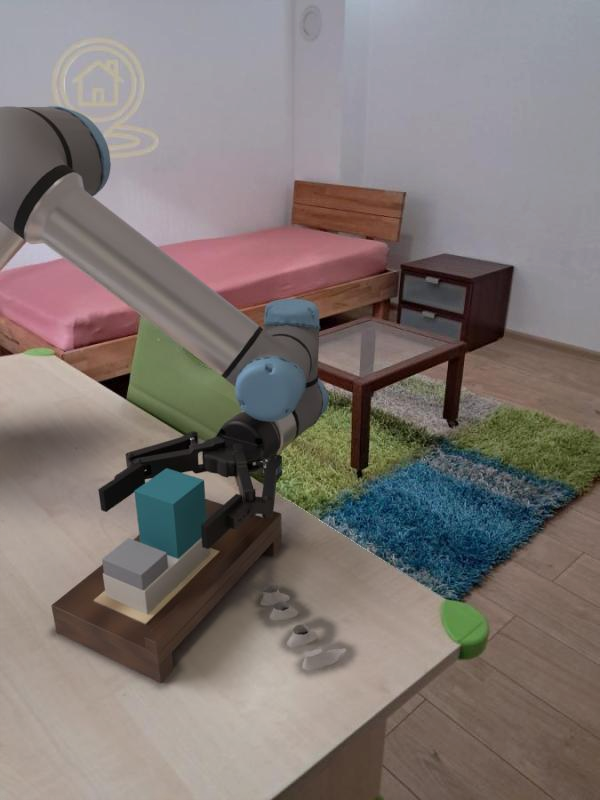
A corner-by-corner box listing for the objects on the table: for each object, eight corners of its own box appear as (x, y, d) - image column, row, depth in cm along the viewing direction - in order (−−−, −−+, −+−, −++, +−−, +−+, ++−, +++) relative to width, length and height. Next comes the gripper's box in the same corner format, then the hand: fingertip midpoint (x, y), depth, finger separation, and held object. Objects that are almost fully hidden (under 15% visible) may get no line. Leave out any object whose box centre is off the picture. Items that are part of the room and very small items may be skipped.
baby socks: (254, 606, 72) (254, 588, 71) (296, 591, 74) (296, 573, 73) (306, 683, 62) (306, 663, 61) (352, 662, 65) (353, 643, 64)
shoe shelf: (57, 637, 67) (48, 593, 65) (192, 521, 87) (189, 484, 84) (161, 689, 62) (156, 643, 59) (281, 552, 81) (281, 513, 78)
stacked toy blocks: (171, 539, 75) (165, 467, 71) (210, 554, 73) (205, 480, 69) (105, 596, 67) (94, 517, 62) (147, 614, 64) (138, 533, 60)
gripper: (341, 484, 80) (253, 585, 63) (182, 439, 90) (69, 514, 73) (344, 431, 77) (252, 522, 59) (178, 391, 87) (59, 458, 70)
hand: (150, 518), depth 66 cm, fingers open, 13 cm apart
